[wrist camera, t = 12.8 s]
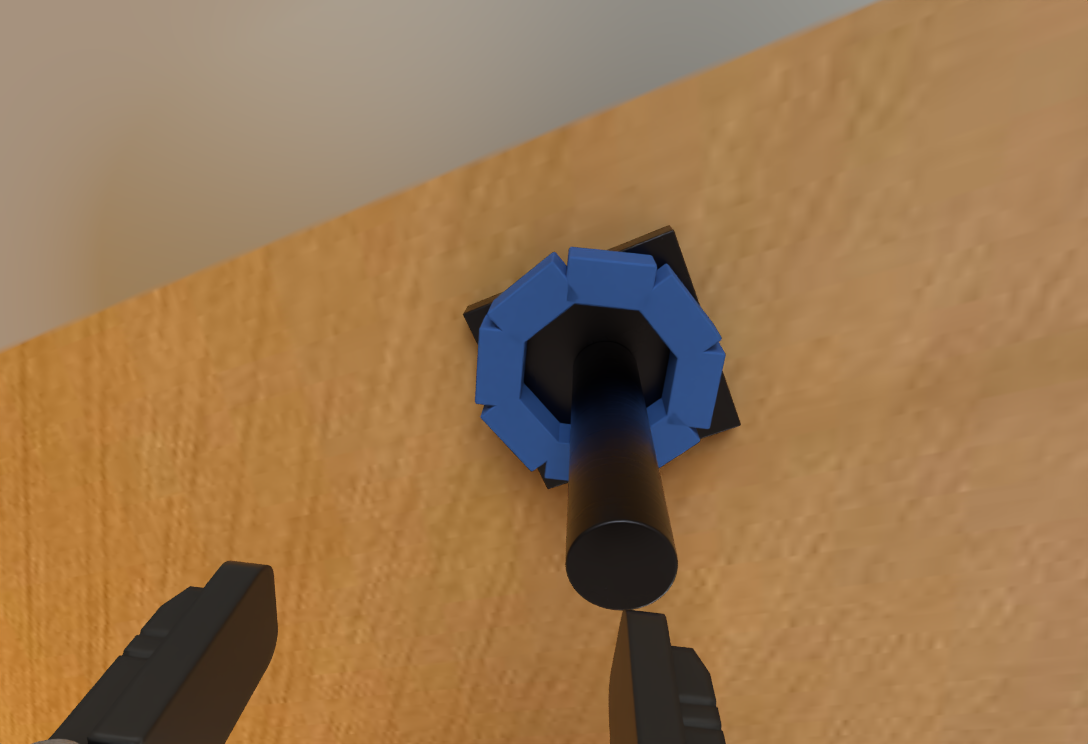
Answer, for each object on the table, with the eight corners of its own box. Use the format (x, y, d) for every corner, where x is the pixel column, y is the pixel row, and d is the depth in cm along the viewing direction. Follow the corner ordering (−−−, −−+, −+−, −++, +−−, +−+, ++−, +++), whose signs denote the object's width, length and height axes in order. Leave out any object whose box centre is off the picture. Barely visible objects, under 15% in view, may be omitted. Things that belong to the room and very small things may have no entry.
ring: (477, 449, 25) (470, 470, 24) (490, 237, 22) (483, 247, 21) (688, 472, 25) (695, 495, 24) (733, 263, 22) (743, 274, 21)
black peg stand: (466, 306, 24) (369, 474, 13) (670, 224, 23) (753, 338, 12) (548, 476, 27) (525, 736, 16) (735, 414, 25) (854, 653, 14)
